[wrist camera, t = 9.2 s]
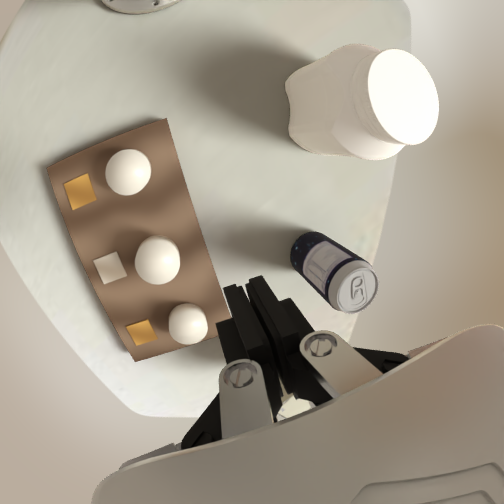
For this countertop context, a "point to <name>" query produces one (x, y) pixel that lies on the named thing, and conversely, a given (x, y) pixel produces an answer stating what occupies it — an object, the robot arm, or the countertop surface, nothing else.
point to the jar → (361, 103)
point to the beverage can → (335, 272)
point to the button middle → (157, 260)
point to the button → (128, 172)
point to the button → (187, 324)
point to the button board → (137, 239)
